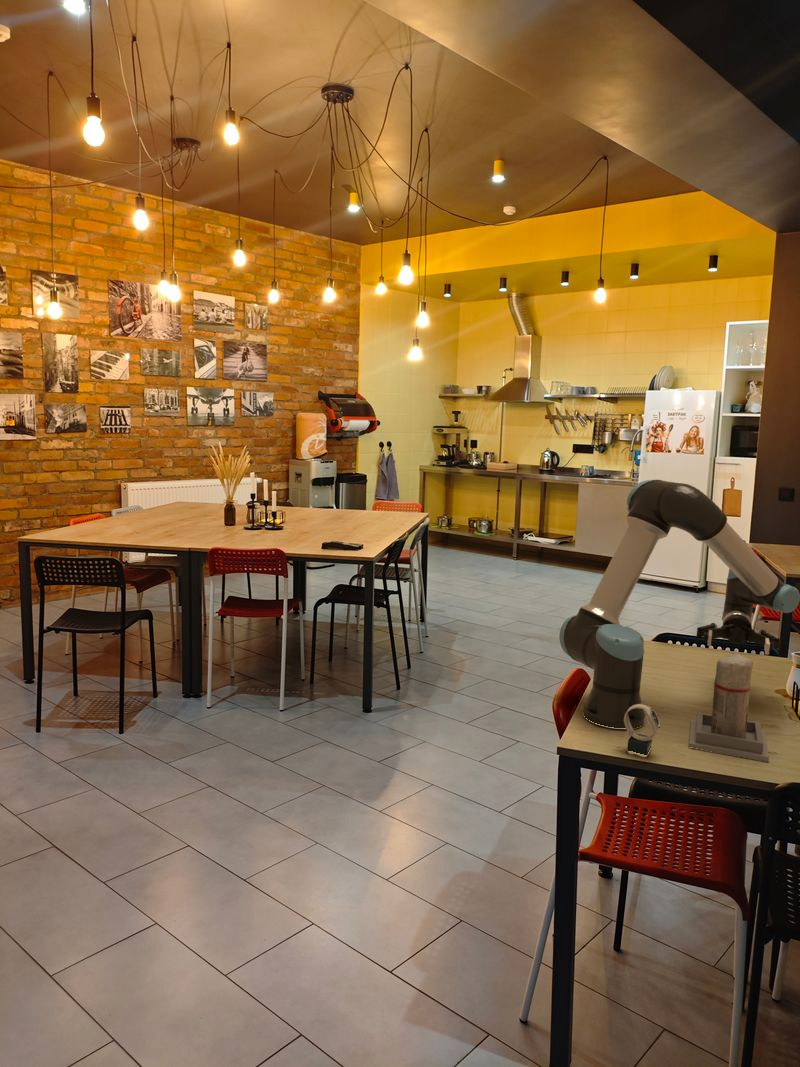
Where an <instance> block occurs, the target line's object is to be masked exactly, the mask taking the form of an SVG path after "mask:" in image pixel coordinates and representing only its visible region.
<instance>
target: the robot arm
mask: <svg viewBox="0 0 800 1067" xmlns="http://www.w3.org/2000/svg"><path fill="white" fill-rule="evenodd" d="M626 504H627V507H626V509H627V511H628V514H627V516H626V518H625V519H626V522H627V524H628V526H627V529H626V530H625V532H624V534H623V536H622V538H621V540H620V542H619V544H618V546H617V547H616V550H615V552H614V553H613V556H612V558H611V559H610V561H609V563H608V566H607V568H606V569H605V571H604V573H603V575H602V577H601V579H600V581H599V583H598V585H597V587H596V589H595V591H594V592H593V595H592V596H591V599H590V601H589V603H588V604H586V605H582V606H581V607H580V608H579V610H578V612H577V614H575V615H571V617H567V618H566V619H565V620H564V622H563V623H562V625H561V627H560V630H559V633H558V634H559V635H558V636H559V637H558V638H559V643H560V646H561V649H562V651H563V652H564V653H565V654H566V655H567V656H568V657H570V658H571V659H572V660H573V661H575V662H578V663H580V664H582V665H584V666H586V667H588V668H589V669H591V670H593V677H592V688H591V689H590V692H589V694H588V696H587V699H586V701H585V704H584V706H583V713H582V714H584V716H585V718H587V719H588V720H590V721H592V722H594V723H597V724H600V725H604V726H608V727H614V728H626V727H625V724H624V716H625V713H626V712H627V710H628V709H629V708H630V707H631V706H633V705H636V704H643V700H642V698H641V692H640V691H641V682H642V673H643V664H644V655H645V642H644V637H643V636H642V635H641V633H640V632H639V631H638V630H636V629H633V628H631V627H628V626H623V625H621V624H620V620H619V619H620V616H621V614H622V612H623V610H624V609H625V606H626V604H627V602H628V600H629V598H630V597H631V595H632V593H633V590H634V588H635V587H636V585H637V583H638V581H639V579H640V577H641V574H642V573H643V571H644V569H645V568H646V565H647V563H648V561H649V559H650V556H651V555H652V553H653V551H654V550H655V547H656V545H657V543H658V542H659V541H660V540H661V539H664V538H666V537H668V535H669V533H670V531H671V528H677V529H679V530H681V531H682V530H683V531H684V532H686V533H688V534H689V535H691V536H692V537H693V539H695V540H696V541H698V542H703V543H704V544H706V546H707V547H709V549H710V550H711V551H712V552H713V553H714V554H715V555H716V556H717V557H718V558H719V559H720V560H721V561H722V562H723V564H725V565H726V566H727V567H728V568H729V569H728V575H727V578H726V588H725V599H724V603H723V604H724V605H723V612H722V615H721V616H722V617H721V620H722V625H721V626H718V625H717V623H715V622H711V623H710V624H707V625H703V626H698V627H697V628H696V629H697V630H696V638H698V639H699V638H702V641H703V642H706V643H707V646H708V647H712V639H724V640H727V641H729V642H732V643H735V644H742V643H754V644H757V645H760V646H762V647H764V655H770V650H771V651H773V650H774V649H776V650H780V649H781V648H780V647H781V643H782V642H781V641H782V640H781V639H780V638H779V637H776V636H775V635H773V634H771V633H769V632H767V631H766V630H765V629H760V630H759V631H758V632H756V631H755V629H753V625H752V614H753V606H754V605H757V606H760V607H763V608H766V609H770V610H772V611H775V612H776V613H777V612H779V613H784V614H789V613H792V612H794V611H795V610H796V609H797V607H799V604H800V592H799V589H797V588H796V587H795V586H793V585H790V584H785V583H784V582H782V581H781V579H779V578H778V576H777V575H776V574H775V573H774V572H773V571H772V570H771V569H770V568H769V566H768V565H767V564H766V563H765V562H764V561H763V560H762V559H761V558H760V557H759V555H757V553H756V552H755V551H754V550H753V549H752V548H751V547H750V546H749V545H748V543H746V541H744V539H743V538H742V537H741V536H740V535H739V534H738V533H737V531H736V530H734V528H733V527H732V526H731V525H730V524H729V523H728V516H727V515H726V513H725V512H724V511H723V510H722V509H721V508H720V507H719V506H718V504H716V503H715V502H714V501H713V500H712V499H711V498H710V497H709V496H708V495H706V494H705V493H704V492H703V491H701V490H700V489H698V488H696V487H695V486H694V485H690V484H688V483H684V482H683V483H681V482H675V481H674V482H672V481H666V480H662V479H646V480H643V481H640V482H639V483H637V484H636V485H634V486H633V488H632V489H631V490H630V492H629V493H628V495H627V500H626ZM584 716H583V717H584ZM628 717H629V721H630V724H631V726H632V728H637V727H640V726H642V725H643V724H644V725H645V720H646V719H645V718H646V714H645V712H644V709H642V708H641V709H640V708H635V709H632V710H630V711H629V712H628ZM585 718H584V719H585ZM644 725H643V726H644ZM643 726H642V727H643ZM640 728H641V727H640ZM637 729H638V728H637Z"/></svg>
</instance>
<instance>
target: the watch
mask: <svg viewBox="0 0 800 1067" xmlns="http://www.w3.org/2000/svg"><path fill="white" fill-rule="evenodd" d="M635 708H640V709H641V708H642V709H644V713H645V718H646V719H645V720H646V721H647V724H648V725H649V727H650V728H651V729H652V731H653V734H651V735H645V734H641V733H636V732H635V731H634V730H635V729H633V728H632V726H631V724H630V721H629V717H628V712H629V711H630V710H632V709H635ZM624 724H625V727H626V729H627V730H626V731H627V733H628V735H629V738H628V740H627V749H626V751H627V750H628V751H633V752H636V753H640V754H644V755H647V754H648V752H649V750H650V748H651V749H652V741H653V739H654V738H655V736H656V735H657V734H658V732H659V730H660V729H661V721H660V718H659V715H658V714H657V712H656V710H655V709H654V708H653V707H650V706H649V705H647V704H644V703H642V704H636V705H633V706H631V707H630V708H629V709H628V710H627V712H626V713H625V716H624ZM650 751H651V750H650ZM649 753H650V752H649ZM648 755H649V754H648Z"/></svg>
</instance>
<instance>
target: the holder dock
mask: <svg viewBox="0 0 800 1067" xmlns="http://www.w3.org/2000/svg"><path fill="white" fill-rule="evenodd" d="M711 721H712V713H711V714H710V713H705V712H700V711H698V712H697V716H696V719H694V718H691V720H690V730H689V731H690V733H689V741H688V742H689V744H688V748H689V747H693V748H698V749H703V750H707V751H706V752H708V751H712V752H711V753H713V752H716V753H715V754H719V753H722V754H721V755H724V754H727V755H726V756H730V755H732V756H731V757H736V756H737V758H741V757H743V758H742V759H747V758H748V759H749V760H752V759H754V761H757V762H763V763H769V760H770V757H769V756H770V755H769V749H768V744H767V739H766V737H767V736H766V731H765V730H762V725H761V722H759V721H754V720H748V719H747V729H746V739H744V738H738V737H732V736H726V735H720V734H715V733H711V724H712V722H711Z"/></svg>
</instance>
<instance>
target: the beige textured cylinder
mask: <svg viewBox="0 0 800 1067" xmlns="http://www.w3.org/2000/svg"><path fill="white" fill-rule="evenodd" d="M753 664H754V663H753V661H752V659H751V658H748V657H745V656H742V655H741V654H735V653H734V654H730V655H727V657H724V658H720V659H718V660H717V662H716V669H715V670H716V671H715V672H716V673H715V677H714V686H713V699H712V712H711V714H712V721H711V722H712V724H711V733H715V734H720V735H726V736H732V737H738V738H744V739H746V729H747V720H748V716H749V706H750V705H749V704H750V693H751V678H752V670H753Z"/></svg>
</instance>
